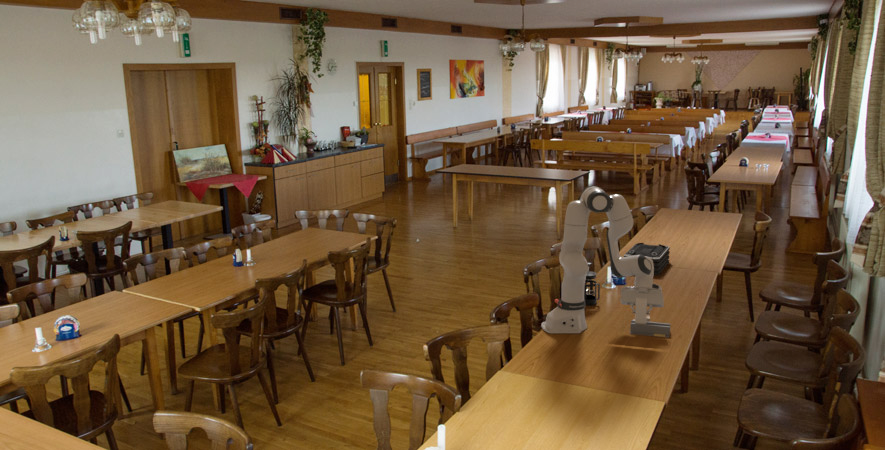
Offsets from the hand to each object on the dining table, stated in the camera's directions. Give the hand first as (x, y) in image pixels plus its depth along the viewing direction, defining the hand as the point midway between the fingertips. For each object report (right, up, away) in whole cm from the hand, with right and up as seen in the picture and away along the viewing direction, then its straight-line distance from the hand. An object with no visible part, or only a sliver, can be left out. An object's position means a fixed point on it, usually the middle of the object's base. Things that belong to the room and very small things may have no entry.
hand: (640, 313), depth 320 cm
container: (+37, +15, +111) cm, 118 cm away
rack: (+5, -10, +3) cm, 11 cm away
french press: (-15, -1, +46) cm, 49 cm away
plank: (+1, -9, +3) cm, 9 cm away
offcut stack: (+3, -7, +8) cm, 11 cm away
